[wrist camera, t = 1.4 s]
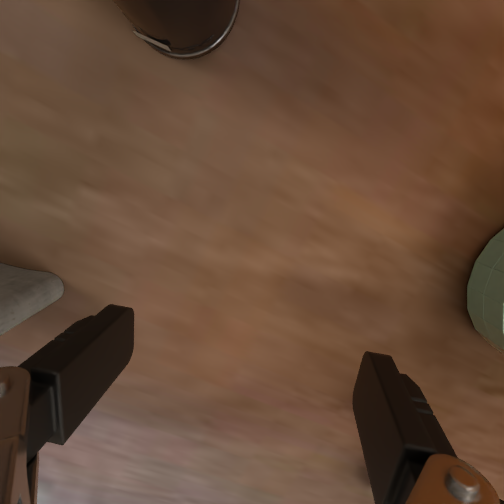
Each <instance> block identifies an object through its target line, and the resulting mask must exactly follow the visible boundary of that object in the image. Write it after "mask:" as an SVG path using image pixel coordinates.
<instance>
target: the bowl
mask: <svg viewBox="0 0 504 504" xmlns="http://www.w3.org/2000/svg"><path fill="white" fill-rule="evenodd" d="M467 310H468V312H469V315H470V317H471V320H472V322H473V325H474V328H475V329H476V331H477V332H478V333H479V334H480V335H481V336H482V337H483V338H484V339H485V340H486V341H487V342H488V343H489V345H491V346H492V347H494V348H495V349H496V350H498V351H499V352H500V353H502V354H503V355H504V229H502V230H501V231H500V232H499V233H498V234H496V235H495V236H494V237H493V238H492V239H491V240H490V241H489V242H488V244H487V245H486V247H485V248H484V250H483V251H482V252H481V254H480V255H479V257H478V258H477V259H476V262H475V264H474V267H473V270H472V273H471V276H470V279H469V282H468V286H467Z"/></svg>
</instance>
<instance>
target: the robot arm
mask: <svg viewBox="0 0 504 504" xmlns="http://www.w3.org/2000/svg"><path fill="white" fill-rule="evenodd" d="M113 1H114V3H115V4H116V5H117V6H118V7H119V9H120V10H121V11H122V12H123V14H124V15H125V16H126V17H127V18H128V20H129V21H130V22H131V23H132V25H133V26H134V28H135V29H136V31H137V32H138V33H137V32H135V31H133V30H132V31H133V32H134V33H135V35H136V36H138V37H140V38H142V39H144V40H145V41H146V42H147V43H148V44H149V45H150V46H151V47H152V48H154V49H155V50H156V51H158V52H160V53H162V54H164V55H166V56H169V57H172V58H177V59H193V58H197V57H201V56H203V55H206V54H208V53H210V52H211V51H213V50H214V49H215V48H217V47H218V46H219V45H220V44H221V43H222V42H223V41H224V40H225V38H226V37H227V36H228V34H229V33H230V31H231V29H232V27H233V25H234V23H235V20H236V17H237V13H238V9H239V0H113ZM133 347H134V311H133V309H132V308H129V307H124V306H118V305H113V304H110V305H108V306H107V307H105V308H104V309H103V310H102V311H100V312H99V313H98V314H97V315H95V316H92V315H91V316H89V317H87V318H84V319H82V320H79V321H77V322H75V323H74V324H73V325H71V326H70V327H69V328H67V329H66V330H65V331H64V333H61V334H60V335H58V336H57V337H56V338H55V339H54V340H52V341H50V342H49V343H48V344H46V345H45V346H44V347H43V348H41V349H40V350H39V351H37V352H36V353H35V354H33V355H32V356H31V357H30V358H28V359H27V360H26V361H24V362H23V363H22V364H20V365H19V366H18V367H14V366H9V367H0V504H37V488H38V471H39V450H40V449H41V448H42V447H43V445H44V444H45V443H46V442H51V443H55V444H59V445H64V443H65V442H66V441H67V440H68V438H69V437H70V436H71V435H72V433H73V432H74V431H75V430H76V428H77V427H78V426H79V425H80V423H81V422H82V421H83V419H84V418H85V417H86V416H87V414H88V413H89V412H90V411H91V409H92V408H93V407H94V406H95V404H96V403H97V402H98V401H99V399H100V398H101V397H102V396H103V394H104V393H105V392H106V391H107V389H108V388H109V387H110V386H111V384H112V383H113V382H114V381H115V379H116V378H117V377H118V375H119V374H120V373H121V372H122V370H123V369H124V368H125V367H126V365H127V364H128V362H129V361H130V358H131V356H132V353H133ZM353 411H354V415H355V420H356V424H357V428H358V432H359V437H360V441H361V445H362V449H363V454H364V458H365V462H366V466H367V471H368V475H369V479H370V484H371V488H372V492H373V496H374V501H375V504H504V501H503V500H501V499H499V497H498V495H497V493H496V491H495V489H494V488H493V487H492V485H491V484H490V483H489V481H488V480H487V479H486V478H485V477H484V476H483V475H482V474H481V473H480V472H479V471H477V470H476V469H475V468H474V467H472V466H471V465H469V464H468V463H466V462H465V461H463V460H461V459H459V458H458V457H457V456H456V454H455V452H454V450H453V448H452V446H451V445H450V443H449V441H448V439H447V437H446V435H445V433H444V432H443V430H442V428H441V426H440V424H439V422H438V421H437V419H436V417H435V416H434V415H433V411H432V410H431V408H430V406H429V404H427V400H426V398H425V397H424V395H423V393H422V391H421V389H420V387H419V386H418V385H417V384H416V383H415V382H414V381H412V380H411V379H410V378H409V377H408V376H407V375H406V374H400V373H399V371H398V369H397V367H396V365H395V363H394V361H393V359H392V357H391V356H389V355H384V354H379V353H373V352H368V351H366V352H365V353H364V355H363V358H362V362H361V365H360V369H359V372H358V376H357V380H356V383H355V387H354V391H353Z"/></svg>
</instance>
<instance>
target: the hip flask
mask: <svg viewBox="0 0 504 504" xmlns="http://www.w3.org/2000/svg"><path fill="white" fill-rule="evenodd" d="M63 292H64V286H63V283H62V281H61V280H60V278H59V277H58V276H56V275H55V274H53V273H49V272H42V271H35V270H28V269H23V268H18V267H14V266H10V265H6V264H2V263H0V335H2V334H4V333H5V332H7V331H8V330H10V329H12V328H13V327H15V326H16V325H18V324H20V323H21V322H23V321H24V320H26V319H28V318H29V317H31V316H32V315H34V314H36V313H37V312H39V311H40V310H42V309H44V308H45V307H47V306H48V305H50V304H52V303H53V302H55V301H56V300H58V299H59V298H61V296H62V295H63Z"/></svg>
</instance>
